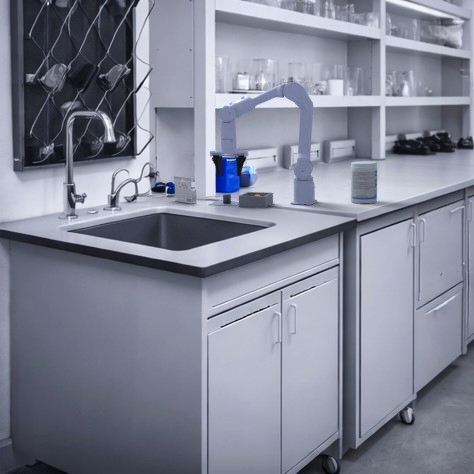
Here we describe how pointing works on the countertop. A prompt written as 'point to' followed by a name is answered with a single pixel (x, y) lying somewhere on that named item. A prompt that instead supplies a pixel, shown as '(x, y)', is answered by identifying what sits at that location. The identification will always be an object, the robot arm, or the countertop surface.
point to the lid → (225, 201)
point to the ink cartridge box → (184, 190)
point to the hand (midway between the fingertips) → (229, 175)
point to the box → (255, 199)
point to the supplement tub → (363, 182)
